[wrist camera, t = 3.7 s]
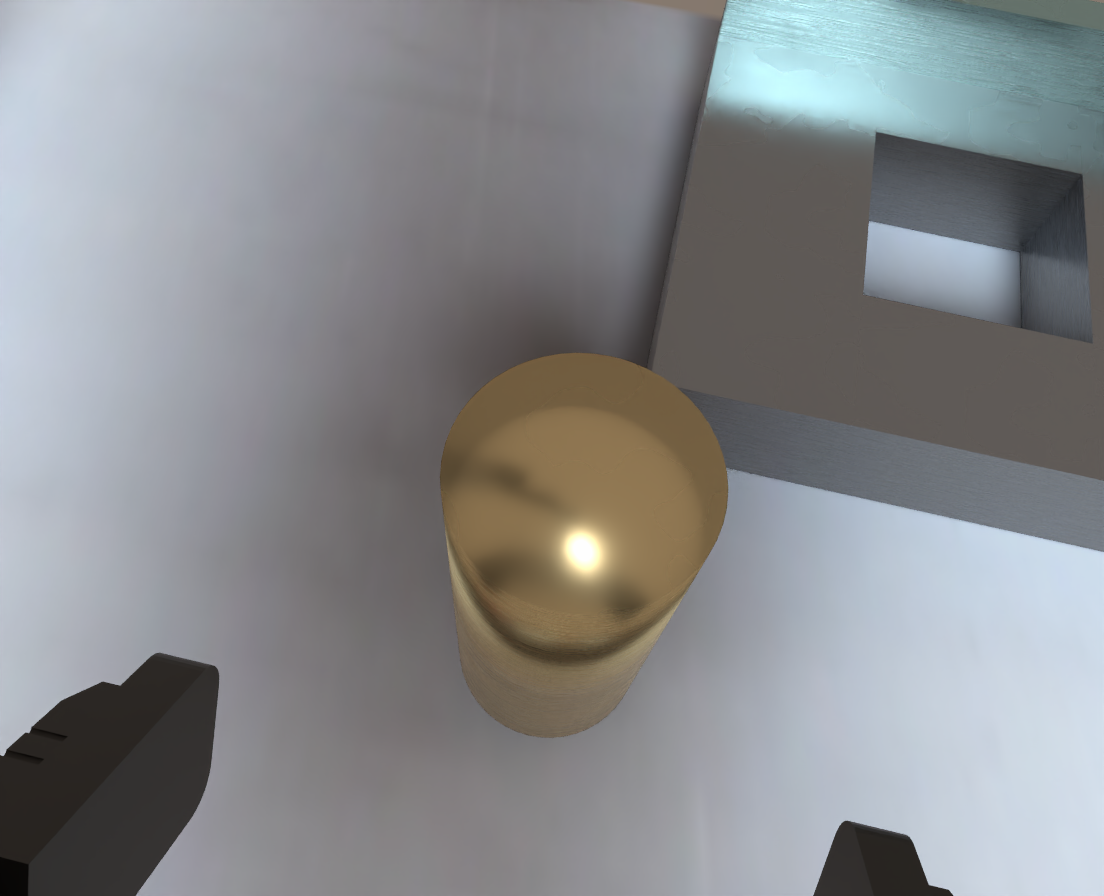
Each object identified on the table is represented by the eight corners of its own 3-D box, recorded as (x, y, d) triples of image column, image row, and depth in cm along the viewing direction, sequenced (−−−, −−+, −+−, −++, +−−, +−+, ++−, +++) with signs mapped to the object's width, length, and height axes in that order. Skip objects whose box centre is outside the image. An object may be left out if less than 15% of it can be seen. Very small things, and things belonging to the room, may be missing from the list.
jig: (630, 446, 26) (667, 322, 20) (701, 97, 32) (743, -67, 27) (1211, 575, 25) (1407, 482, 20) (1166, 191, 31) (1305, 43, 26)
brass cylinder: (439, 713, 22) (404, 576, 13) (484, 545, 24) (480, 328, 15) (618, 756, 22) (707, 646, 13) (649, 583, 24) (744, 385, 15)
